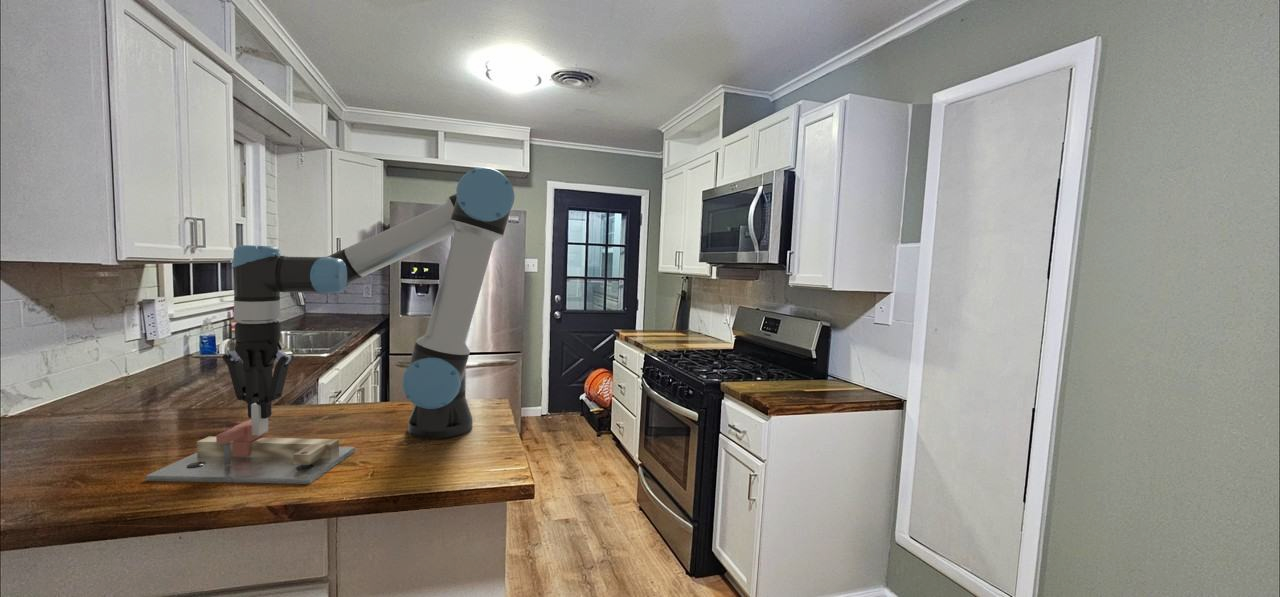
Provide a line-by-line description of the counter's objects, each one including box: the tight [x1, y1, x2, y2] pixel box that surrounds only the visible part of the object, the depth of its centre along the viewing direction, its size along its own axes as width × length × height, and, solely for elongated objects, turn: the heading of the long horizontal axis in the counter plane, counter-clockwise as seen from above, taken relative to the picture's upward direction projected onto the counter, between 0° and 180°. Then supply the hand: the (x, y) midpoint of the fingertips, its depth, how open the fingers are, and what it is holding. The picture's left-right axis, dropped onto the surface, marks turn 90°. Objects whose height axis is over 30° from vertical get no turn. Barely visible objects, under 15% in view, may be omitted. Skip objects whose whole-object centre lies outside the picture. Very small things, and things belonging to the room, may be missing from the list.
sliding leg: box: [215, 418, 267, 465], centre depth 103 cm, size 3×10×6 cm, turn 2°
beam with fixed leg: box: [196, 435, 340, 468], centre depth 103 cm, size 27×8×3 cm, turn 92°
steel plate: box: [145, 446, 356, 485], centre depth 102 cm, size 30×16×1 cm, turn 92°
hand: (260, 432), depth 105 cm, fingers closed
